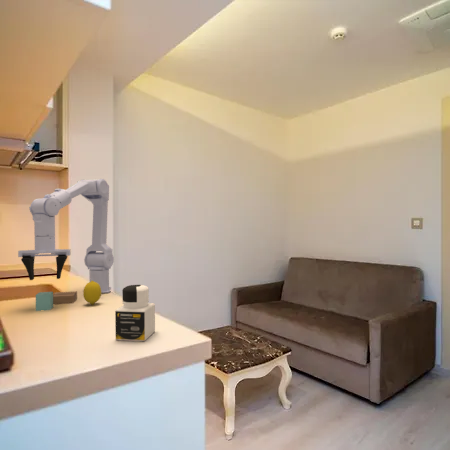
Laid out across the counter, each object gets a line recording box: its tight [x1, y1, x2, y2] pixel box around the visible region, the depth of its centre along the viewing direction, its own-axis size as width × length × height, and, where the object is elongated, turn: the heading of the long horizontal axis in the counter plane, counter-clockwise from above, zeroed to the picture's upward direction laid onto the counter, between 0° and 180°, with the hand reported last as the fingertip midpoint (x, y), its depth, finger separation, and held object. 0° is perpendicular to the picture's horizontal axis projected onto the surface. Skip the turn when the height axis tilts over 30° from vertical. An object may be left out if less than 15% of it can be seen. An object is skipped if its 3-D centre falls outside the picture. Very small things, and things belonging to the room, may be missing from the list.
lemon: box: [82, 281, 102, 306], centre depth 110 cm, size 6×6×8 cm
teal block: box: [35, 291, 54, 312], centre depth 105 cm, size 4×4×5 cm
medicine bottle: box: [114, 284, 156, 342], centre depth 79 cm, size 7×7×12 cm
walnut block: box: [53, 290, 78, 306], centre depth 115 cm, size 7×7×3 cm
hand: (45, 279), depth 105 cm, fingers open, 7 cm apart
